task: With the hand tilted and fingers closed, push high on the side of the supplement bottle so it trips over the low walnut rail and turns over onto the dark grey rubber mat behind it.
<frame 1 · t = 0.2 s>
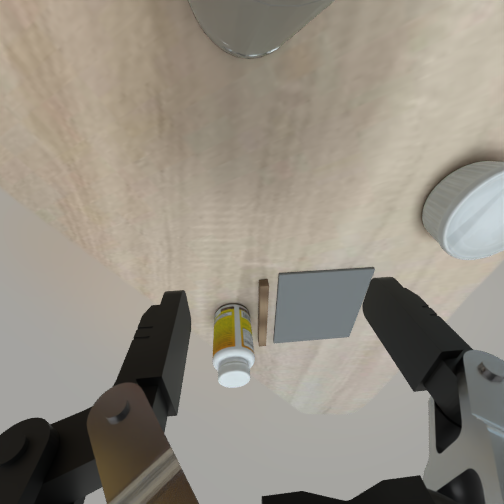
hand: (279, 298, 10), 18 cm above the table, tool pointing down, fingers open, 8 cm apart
rail: (262, 312, 37), on the table
ramekin: (456, 199, 29), on the table
mat: (318, 308, 38), on the table
supplement bottle: (232, 313, 37), on the table
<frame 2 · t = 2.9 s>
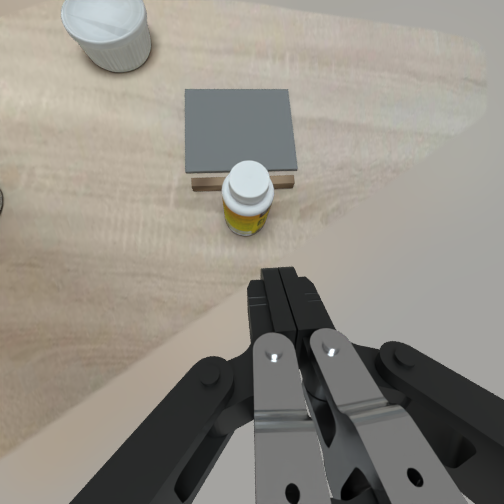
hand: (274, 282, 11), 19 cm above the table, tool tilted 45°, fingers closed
rail: (243, 185, 33), on the table
ramekin: (122, 52, 37), on the table
mat: (239, 129, 35), on the table
supplement bottle: (245, 218, 32), on the table
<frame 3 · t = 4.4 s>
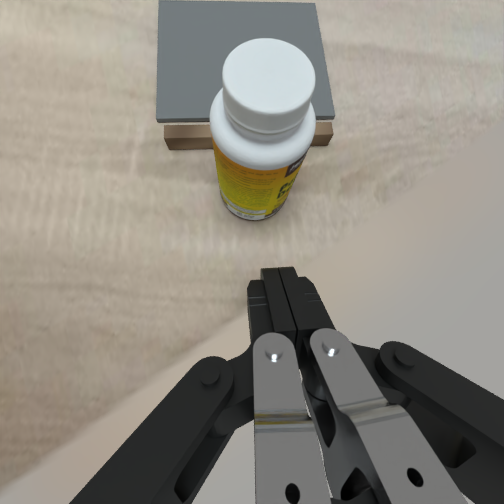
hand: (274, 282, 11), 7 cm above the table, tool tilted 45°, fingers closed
rail: (249, 141, 21), on the table
mat: (243, 59, 23), on the table
supplement bottle: (253, 192, 20), on the table
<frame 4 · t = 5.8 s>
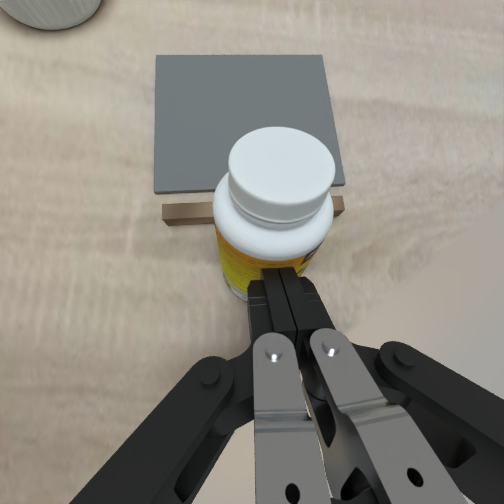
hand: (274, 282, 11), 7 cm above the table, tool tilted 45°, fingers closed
rail: (254, 214, 19), on the table
ramekin: (58, 0, 23), on the table
mat: (246, 119, 21), on the table
supplement bottle: (259, 270, 18), on the table
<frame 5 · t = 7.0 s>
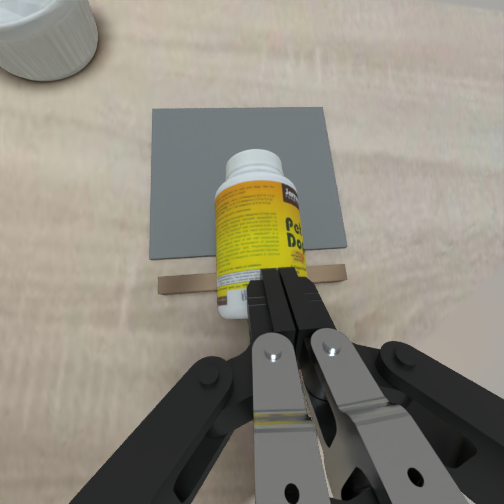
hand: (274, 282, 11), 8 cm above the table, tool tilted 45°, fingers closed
rail: (253, 280, 18), on the table
ramekin: (52, 48, 23), on the table
mat: (245, 177, 21), on the table
supplement bottle: (265, 320, 14), point 4 cm above the table, touching gripper, rail
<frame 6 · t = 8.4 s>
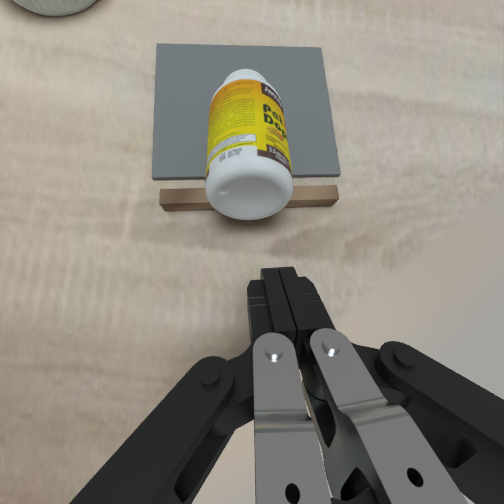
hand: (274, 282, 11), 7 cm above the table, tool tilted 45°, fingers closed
rail: (250, 201, 19), on the table
mat: (244, 109, 21), on the table
supplement bottle: (250, 203, 14), point 5 cm above the table, touching mat, rail
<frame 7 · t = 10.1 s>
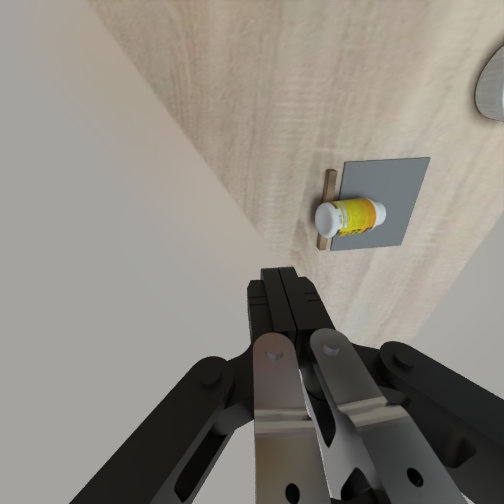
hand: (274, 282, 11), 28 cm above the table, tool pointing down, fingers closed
rail: (324, 211, 40), on the table
mat: (375, 207, 41), on the table
supplement bottle: (321, 221, 36), point 5 cm above the table, touching mat, rail
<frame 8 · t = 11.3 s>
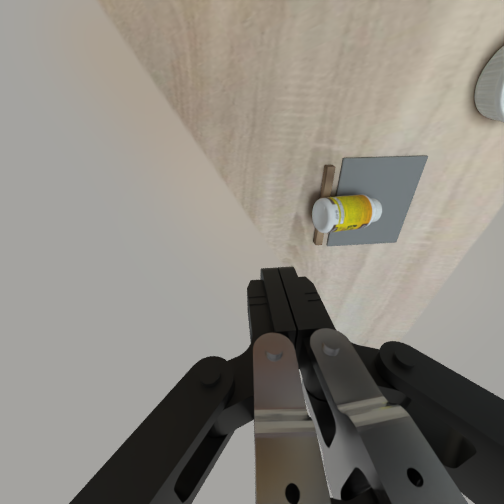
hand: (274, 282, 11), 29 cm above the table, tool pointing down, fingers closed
rail: (321, 206, 41), on the table
mat: (371, 204, 41), on the table
supplement bottle: (318, 216, 36), point 5 cm above the table, touching mat, rail
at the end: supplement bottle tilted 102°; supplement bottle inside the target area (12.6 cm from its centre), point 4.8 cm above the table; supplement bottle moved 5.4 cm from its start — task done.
